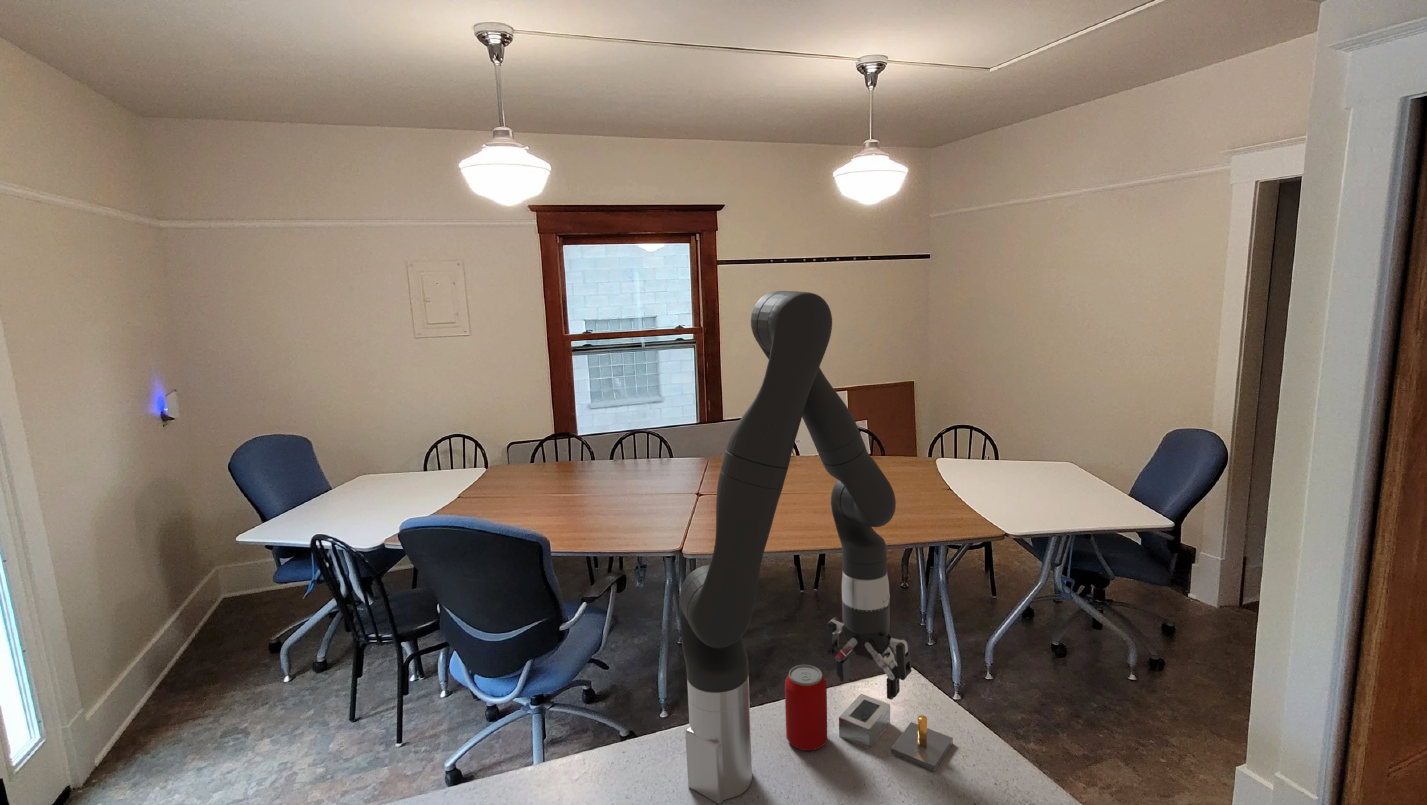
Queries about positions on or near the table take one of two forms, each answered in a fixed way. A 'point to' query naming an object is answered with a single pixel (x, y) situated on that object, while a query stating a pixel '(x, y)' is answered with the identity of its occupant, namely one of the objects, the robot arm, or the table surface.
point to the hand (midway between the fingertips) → (867, 688)
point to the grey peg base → (922, 745)
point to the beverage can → (806, 707)
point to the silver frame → (862, 731)
